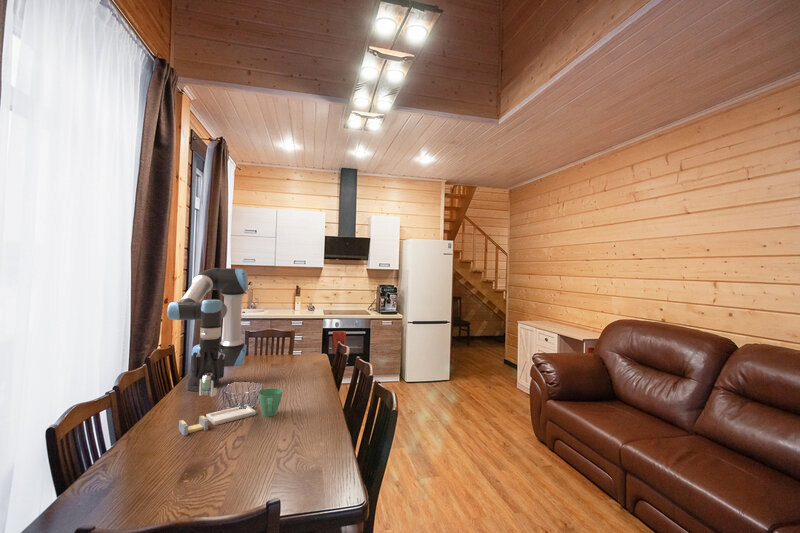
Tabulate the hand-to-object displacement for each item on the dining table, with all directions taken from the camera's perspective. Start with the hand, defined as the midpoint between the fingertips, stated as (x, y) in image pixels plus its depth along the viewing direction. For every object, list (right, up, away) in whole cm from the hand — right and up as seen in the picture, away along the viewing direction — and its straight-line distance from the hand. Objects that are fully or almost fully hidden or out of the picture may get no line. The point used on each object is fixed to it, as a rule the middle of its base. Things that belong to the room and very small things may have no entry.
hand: (207, 394), depth 146 cm
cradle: (-3, -12, -5) cm, 13 cm away
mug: (+22, -13, +10) cm, 27 cm away
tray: (+5, -12, +9) cm, 16 cm away
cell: (0, +1, 0) cm, 1 cm away
